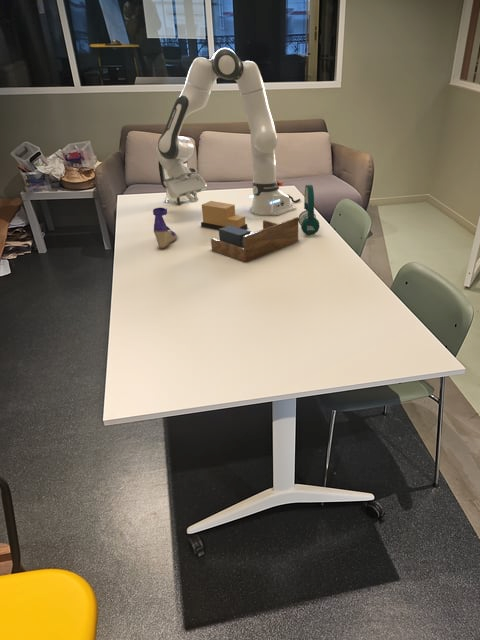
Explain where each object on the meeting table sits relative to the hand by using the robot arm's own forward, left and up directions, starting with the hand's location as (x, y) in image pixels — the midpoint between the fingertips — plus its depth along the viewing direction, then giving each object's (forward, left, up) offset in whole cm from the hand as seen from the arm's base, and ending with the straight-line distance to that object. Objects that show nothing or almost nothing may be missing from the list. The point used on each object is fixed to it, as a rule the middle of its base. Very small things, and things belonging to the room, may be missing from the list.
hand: (195, 201), depth 235 cm
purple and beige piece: (+27, +18, -9) cm, 33 cm away
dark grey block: (+8, +46, -9) cm, 48 cm away
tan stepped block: (-3, +18, -9) cm, 20 cm away
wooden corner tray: (0, +46, -9) cm, 47 cm away
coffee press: (-8, -34, -9) cm, 37 cm away
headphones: (-29, +47, -9) cm, 56 cm away
